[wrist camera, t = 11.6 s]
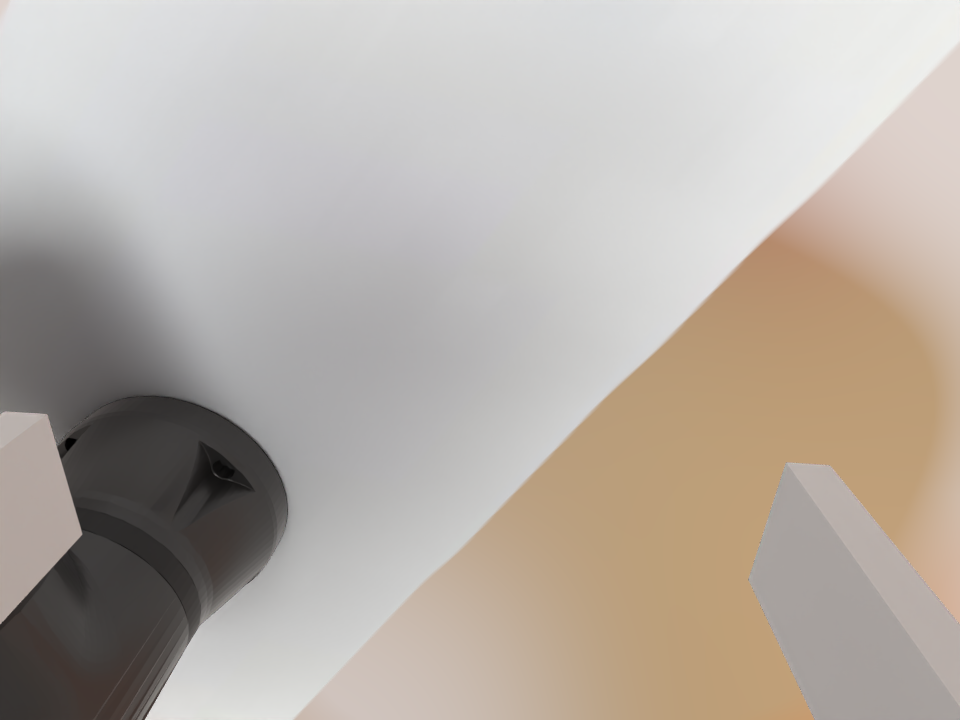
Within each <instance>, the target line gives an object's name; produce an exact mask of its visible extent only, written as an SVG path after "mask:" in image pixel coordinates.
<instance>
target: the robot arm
mask: <svg viewBox="0 0 960 720" xmlns="http://www.w3.org/2000/svg"><path fill="white" fill-rule="evenodd" d="M286 522H287V500H286V495H285V491H284V488H283V485H282V482H281V480H280V477H279V475H278V473H277V471H276V469H275V468H274V466H273V464H272V463H271V461H270V460H269V459H268V457H267V456H266V454H265V453H264V452H263V451H262V450H261V448H260V447H259V446H258V445H257V444H256V443H255V442H254V441H253V440H252V439H251V438H250V437H249V436H247V435H246V434H245V433H244V432H243V431H241V430H240V429H239V428H237V427H236V426H235V425H233V424H232V423H230V422H229V421H227V420H226V419H224V418H222V417H221V416H219V415H217V414H215V413H213V412H211V411H209V410H207V409H204V408H202V407H199V406H197V405H194V404H191V403H188V402H184V401H180V400H176V399H171V398H164V397H152V396H143V397H132V398H126V399H122V400H118V401H115V402H112V403H109V404H107V405H105V406H103V407H101V408H99V409H98V410H96V411H95V412H94V413H92V414H91V415H90V416H88V417H87V418H86V419H85V420H83V421H82V422H81V423H80V424H78V425H77V426H76V427H75V428H73V429H72V430H71V431H70V432H69V433H68V434H67V435H66V436H65V437H64V438H63V439H62V441H61V442H60V443H59V445H58V446H56V442H55V439H54V435H53V432H52V428H51V425H50V422H49V418H48V415H47V414H39V413H24V412H9V411H5V412H3V413H2V414H0V720H145V718H146V717H147V715H148V713H149V711H150V710H151V708H152V706H153V704H154V703H155V701H156V699H157V697H158V696H159V694H160V692H161V690H162V689H163V687H164V685H165V684H166V682H167V680H168V678H169V677H170V675H171V673H172V671H173V670H174V668H175V666H176V664H177V663H178V661H179V659H180V657H181V656H182V654H183V652H184V650H185V649H186V647H187V645H188V644H189V642H190V640H191V639H192V637H193V635H194V634H195V632H196V631H197V629H198V627H199V626H200V625H201V624H202V623H203V622H204V621H205V620H206V619H208V618H209V617H210V616H211V615H212V614H213V613H215V612H216V611H217V610H218V609H219V608H220V607H222V606H223V605H224V604H225V603H226V602H227V601H228V600H229V599H231V598H232V597H233V596H234V595H235V594H236V593H237V592H238V591H239V590H240V589H242V588H243V587H244V586H245V585H246V584H248V583H249V582H250V581H252V580H253V579H254V578H255V577H256V576H257V575H258V574H259V573H260V572H261V571H262V570H263V568H264V567H265V566H266V564H267V563H268V561H269V560H270V558H271V556H272V554H273V552H274V550H275V549H276V547H277V545H278V543H279V541H280V539H281V537H282V535H283V533H284V530H285V526H286ZM748 580H749V582H750V584H751V586H752V589H753V591H754V593H755V595H756V597H757V599H758V601H759V603H760V605H761V607H762V610H763V612H764V614H765V616H766V618H767V620H768V622H769V624H770V626H771V628H772V630H773V633H774V635H775V637H776V639H777V641H778V643H779V645H780V648H781V649H782V652H783V654H784V656H785V658H786V660H787V662H788V665H789V667H790V669H791V671H792V673H793V675H794V677H795V679H796V681H797V683H798V685H799V688H800V690H801V692H802V694H803V696H804V698H805V700H806V702H807V705H808V707H809V709H810V711H811V713H812V715H813V717H814V719H815V720H960V624H959V623H958V622H957V620H956V619H955V618H954V617H953V615H952V614H951V613H950V612H949V611H948V610H947V608H946V607H945V606H944V604H943V603H942V602H941V601H940V600H939V598H938V597H937V596H936V595H935V593H934V592H933V591H932V590H931V589H930V587H929V586H928V585H927V584H926V582H925V581H924V580H923V579H922V577H920V575H919V574H918V573H917V571H916V570H915V569H914V568H913V566H912V565H911V564H910V563H909V562H908V560H907V559H906V558H905V557H904V556H903V554H902V553H901V552H900V551H899V549H898V548H897V547H896V546H895V544H894V543H893V542H892V541H891V540H890V538H889V537H888V536H887V535H886V533H885V532H884V531H883V530H882V529H881V527H880V526H879V525H878V524H877V522H876V521H875V520H874V519H873V518H872V516H871V515H870V514H869V513H868V511H867V510H866V509H865V508H864V506H863V505H862V504H861V503H860V502H859V501H858V499H857V498H856V497H855V495H854V494H853V493H852V492H851V491H850V489H849V488H848V487H847V486H846V484H845V483H844V482H843V481H842V479H841V478H840V477H839V476H838V475H837V473H836V472H835V471H834V470H833V468H832V467H831V466H830V465H818V464H803V463H788V462H786V464H785V467H784V470H783V473H782V476H781V479H780V483H779V486H778V489H777V492H776V495H775V498H774V501H773V504H772V508H771V511H770V514H769V517H768V520H767V523H766V526H765V529H764V532H763V535H762V539H761V542H760V545H759V548H758V551H757V554H756V557H755V560H754V563H753V567H752V570H751V573H750V576H749V579H748Z"/></svg>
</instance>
